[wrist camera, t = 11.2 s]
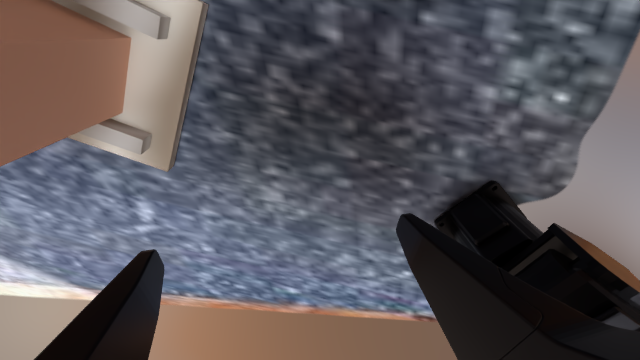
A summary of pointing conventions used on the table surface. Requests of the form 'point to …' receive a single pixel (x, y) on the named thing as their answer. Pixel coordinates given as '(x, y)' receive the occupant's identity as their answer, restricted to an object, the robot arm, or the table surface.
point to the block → (55, 74)
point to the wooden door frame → (148, 75)
